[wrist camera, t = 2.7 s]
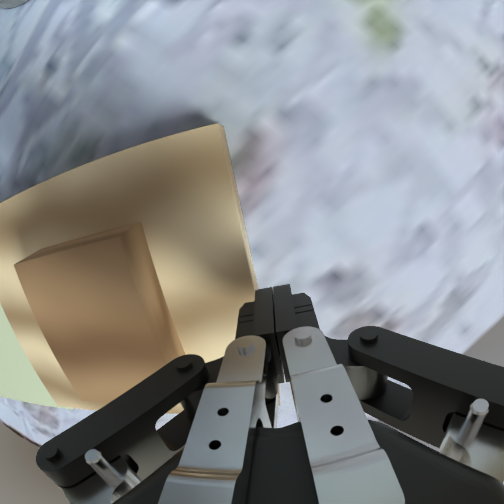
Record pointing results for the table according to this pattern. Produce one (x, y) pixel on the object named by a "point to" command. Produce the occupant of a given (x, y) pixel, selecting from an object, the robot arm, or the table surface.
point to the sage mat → (19, 370)
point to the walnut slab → (101, 310)
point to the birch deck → (157, 236)
